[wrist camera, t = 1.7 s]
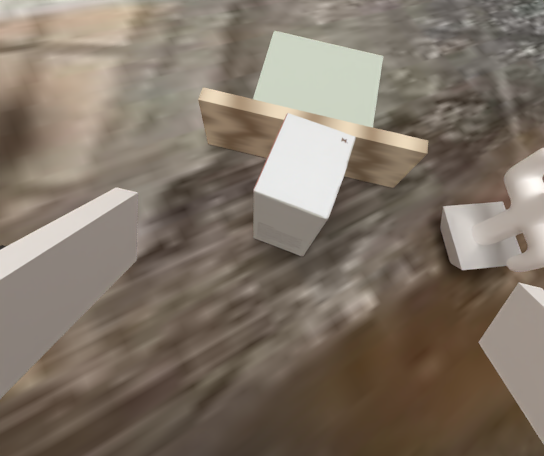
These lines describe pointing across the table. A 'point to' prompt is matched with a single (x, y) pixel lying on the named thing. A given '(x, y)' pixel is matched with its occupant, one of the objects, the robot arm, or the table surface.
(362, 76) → the display plate
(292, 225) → the small box
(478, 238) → the figurine
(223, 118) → the wooden screen
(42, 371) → the table surface
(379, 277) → the table surface
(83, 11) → the table surface
